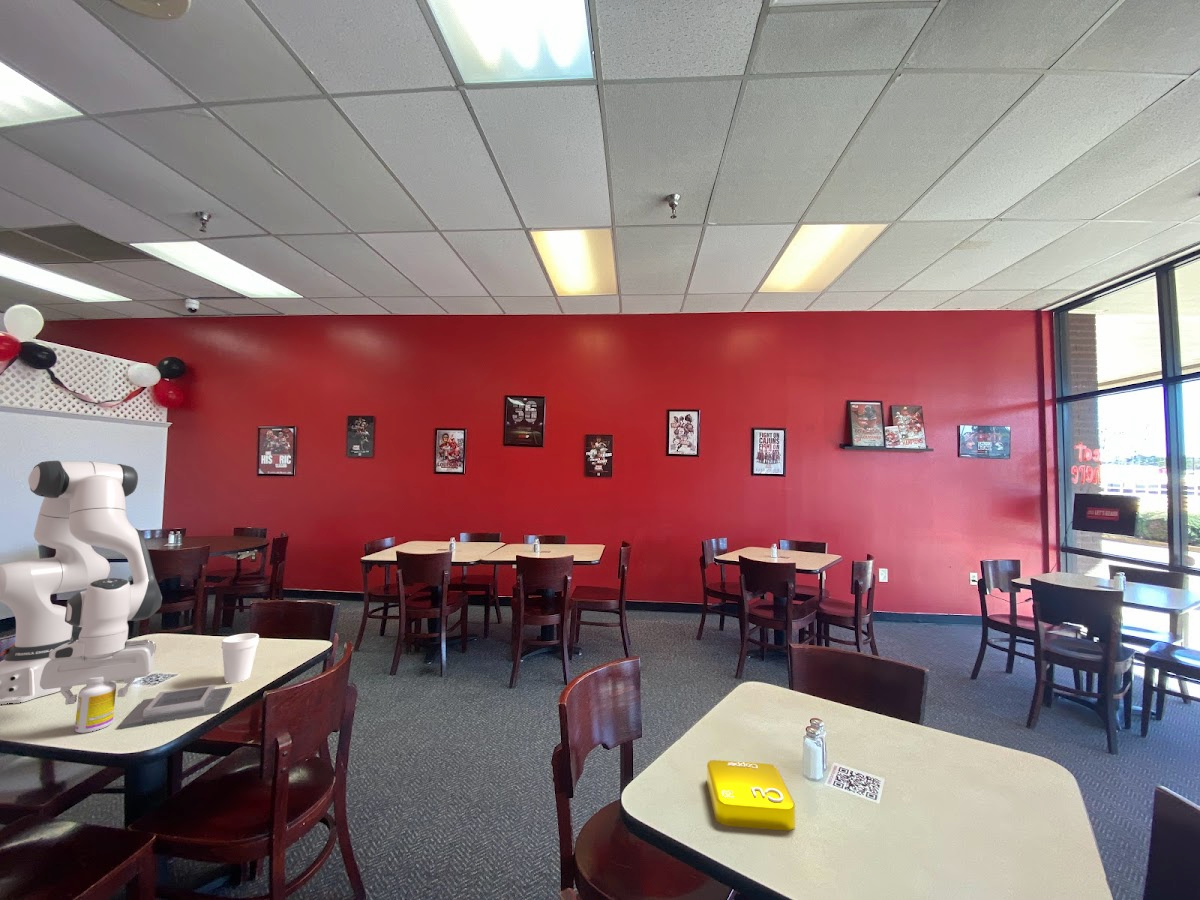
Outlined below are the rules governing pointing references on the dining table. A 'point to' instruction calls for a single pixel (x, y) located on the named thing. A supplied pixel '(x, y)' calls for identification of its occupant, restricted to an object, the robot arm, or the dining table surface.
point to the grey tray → (178, 705)
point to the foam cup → (239, 656)
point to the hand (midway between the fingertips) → (97, 699)
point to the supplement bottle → (95, 705)
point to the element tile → (750, 795)
